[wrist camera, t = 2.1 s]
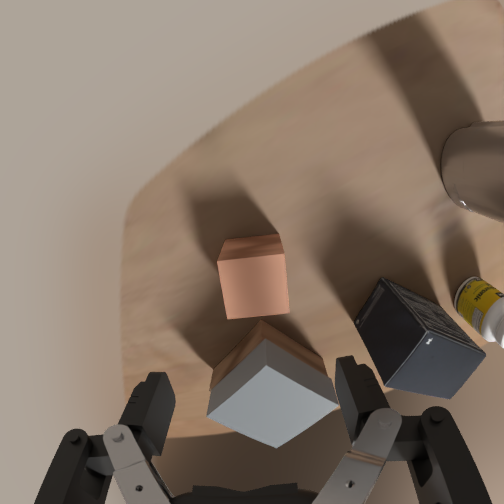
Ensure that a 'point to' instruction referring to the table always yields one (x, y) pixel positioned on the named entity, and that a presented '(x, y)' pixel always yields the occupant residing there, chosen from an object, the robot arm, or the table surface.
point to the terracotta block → (253, 276)
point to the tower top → (271, 396)
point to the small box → (416, 342)
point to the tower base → (254, 339)
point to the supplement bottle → (482, 308)
